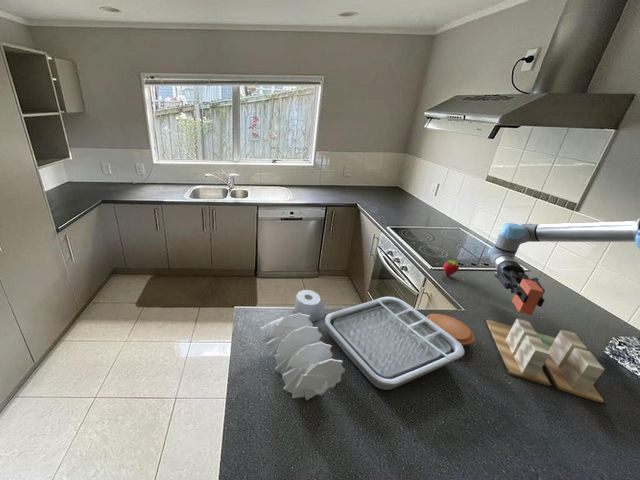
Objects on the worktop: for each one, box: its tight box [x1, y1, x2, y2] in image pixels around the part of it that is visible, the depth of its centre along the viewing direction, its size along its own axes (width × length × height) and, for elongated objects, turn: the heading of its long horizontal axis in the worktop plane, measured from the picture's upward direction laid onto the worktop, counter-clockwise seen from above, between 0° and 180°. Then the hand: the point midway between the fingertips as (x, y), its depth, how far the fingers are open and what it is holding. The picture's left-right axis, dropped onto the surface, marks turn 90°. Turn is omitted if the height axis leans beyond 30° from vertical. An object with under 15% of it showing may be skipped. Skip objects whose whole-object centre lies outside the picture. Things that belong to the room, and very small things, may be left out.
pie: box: [425, 313, 476, 347], centre depth 104 cm, size 15×16×5 cm
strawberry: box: [443, 259, 459, 277], centre depth 141 cm, size 6×8×10 cm
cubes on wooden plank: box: [536, 329, 605, 404], centre depth 93 cm, size 26×10×11 cm, turn 156°
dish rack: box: [324, 296, 465, 391], centre depth 96 cm, size 32×37×8 cm
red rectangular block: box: [511, 279, 545, 316], centre depth 99 cm, size 7×4×10 cm, turn 156°
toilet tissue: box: [293, 289, 326, 323], centre depth 112 cm, size 9×13×9 cm
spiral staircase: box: [260, 312, 346, 401], centre depth 85 cm, size 18×18×25 cm
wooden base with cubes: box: [485, 318, 552, 387], centre depth 97 cm, size 26×10×11 cm, turn 156°
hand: (533, 301), depth 95 cm, fingers closed on red rectangular block, 3 cm apart
